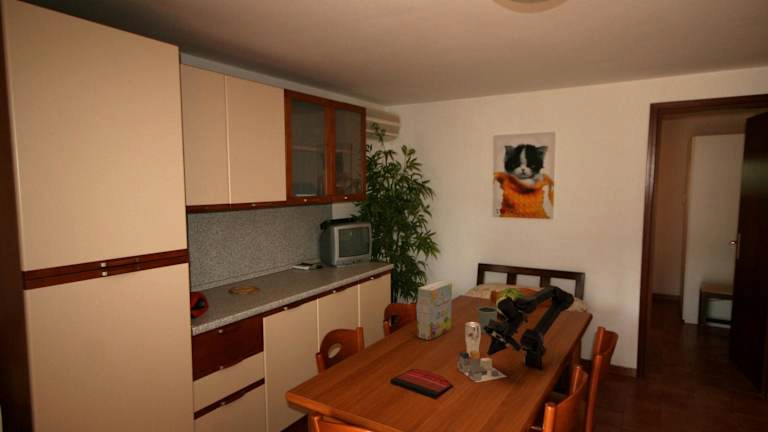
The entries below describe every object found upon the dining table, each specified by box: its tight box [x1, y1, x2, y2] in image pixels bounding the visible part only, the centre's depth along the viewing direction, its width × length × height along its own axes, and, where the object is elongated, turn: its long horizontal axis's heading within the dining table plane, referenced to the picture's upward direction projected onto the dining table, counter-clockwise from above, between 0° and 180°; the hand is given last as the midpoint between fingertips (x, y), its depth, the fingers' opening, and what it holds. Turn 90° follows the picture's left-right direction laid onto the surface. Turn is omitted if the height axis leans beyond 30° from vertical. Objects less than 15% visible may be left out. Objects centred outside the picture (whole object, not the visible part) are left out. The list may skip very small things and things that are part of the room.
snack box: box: [416, 280, 453, 341], centre depth 225 cm, size 22×9×26 cm, turn 143°
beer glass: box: [464, 321, 482, 358], centre depth 195 cm, size 7×7×15 cm
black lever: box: [458, 350, 470, 367], centre depth 179 cm, size 2×3×7 cm
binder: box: [390, 368, 454, 400], centre depth 170 cm, size 16×2×21 cm
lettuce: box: [495, 287, 526, 316], centre depth 255 cm, size 15×27×16 cm, turn 144°
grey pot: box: [477, 306, 498, 335], centre depth 228 cm, size 10×10×12 cm
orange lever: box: [469, 350, 481, 376], centre depth 172 cm, size 2×3×10 cm
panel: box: [457, 361, 507, 383], centre depth 177 cm, size 14×14×4 cm
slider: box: [479, 357, 493, 370], centre depth 180 cm, size 4×2×4 cm, turn 111°
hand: (488, 354), depth 174 cm, fingers closed
